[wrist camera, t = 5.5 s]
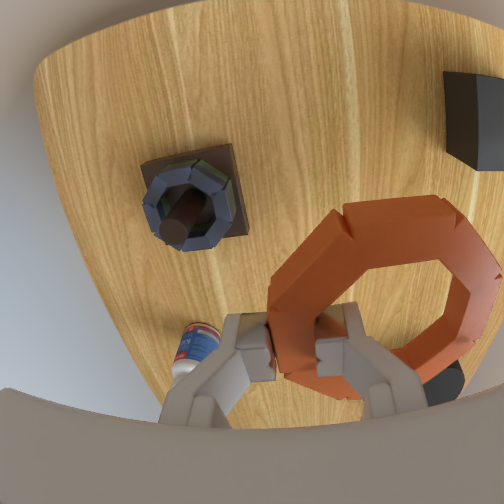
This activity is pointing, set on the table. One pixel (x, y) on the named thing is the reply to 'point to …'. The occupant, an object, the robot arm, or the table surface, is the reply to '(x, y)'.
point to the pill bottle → (194, 349)
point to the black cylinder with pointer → (444, 385)
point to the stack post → (195, 198)
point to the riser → (475, 119)
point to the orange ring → (375, 256)
